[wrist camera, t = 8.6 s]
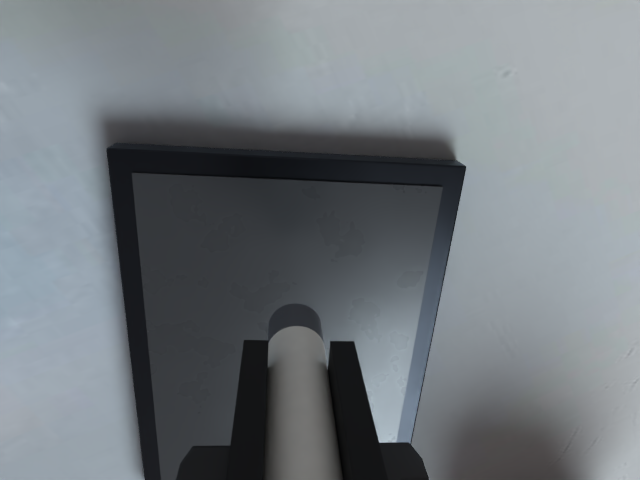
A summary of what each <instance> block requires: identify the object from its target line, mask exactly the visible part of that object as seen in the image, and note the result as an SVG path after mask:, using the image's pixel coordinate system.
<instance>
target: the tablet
mask: <svg viewBox="0 0 640 480" xmlns="http://www.w3.org/2000/svg"><path fill="white" fill-rule="evenodd" d="M107 158H108V166H109V175H110V184H111V192H112V201H113V209H114V218H115V227H116V235H117V244H118V253H119V261H120V270H121V279H122V287H123V296H124V304H125V313H126V322H127V330H128V339H129V348H130V356H131V365H132V374H133V382H134V391H135V399H136V408H137V417H138V425H139V434H140V443H141V451H142V460H143V469H144V477H145V480H176V478H177V474H178V470H179V466H180V463H181V462H182V460H183V459H184V457H185V456H186V455H187V453H188V452H189V451H190V449H191V448H192V446H227V445H230V444H231V436H232V428H233V421H234V413H235V405H236V397H237V390H238V382H239V374H240V366H241V359H242V351H243V343H244V340H268V324H269V320H270V318H271V316H272V314H273V313H274V312H275V311H276V310H277V309H279V308H280V307H282V306H284V305H287V304H293V303H298V304H303V305H306V306H309V307H310V308H312V309H313V310H314V311H315V312H316V313H317V314H318V316H319V318H320V321H321V327H322V334H323V341H324V348H325V355H326V362H327V369H328V361H329V350H330V341H354V343H355V347H356V351H357V355H358V359H359V363H360V367H361V371H362V375H363V379H364V383H365V387H366V392H367V396H368V400H369V404H370V408H371V412H372V416H373V420H374V424H375V428H376V432H377V436H378V440H379V443H387V442H409V443H410V444H411V441H412V436H413V431H414V426H415V421H416V416H417V411H418V406H419V401H420V396H421V391H422V386H423V381H424V376H425V371H426V366H427V361H428V356H429V351H430V346H431V341H432V336H433V331H434V326H435V321H436V316H437V311H438V306H439V301H440V296H441V291H442V286H443V281H444V276H445V271H446V266H447V261H448V256H449V251H450V246H451V241H452V236H453V231H454V226H455V221H456V216H457V211H458V206H459V201H460V196H461V191H462V186H463V181H464V176H465V171H466V166H465V165H463V164H462V163H460V162H458V161H457V160H438V159H418V158H399V157H379V156H360V155H340V154H321V153H301V152H282V151H262V150H243V149H224V148H204V147H185V146H165V145H146V144H126V143H115V144H113V145H112V146H110V147H108V148H107Z"/></svg>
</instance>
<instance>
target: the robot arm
mask: <svg viewBox="0 0 640 480" xmlns="http://www.w3.org/2000/svg"><path fill="white" fill-rule="evenodd" d="M268 343H269V340H244V343H243V351H242V359H241V366H240V374H239V382H238V390H237V397H236V405H235V413H234V421H233V428H232V436H231V444H230V445H227V446H192V448H191V449H190V451H189V452H188V453H187V455H186V456H185V457H184V459H183V460H182V462H181V463H180V466H179V470H178V474H177V478H176V480H263V467H264V444H265V421H266V398H267V374H268ZM328 376H329V383H330V390H331V397H332V404H333V411H334V418H335V425H336V432H337V439H338V446H339V453H340V460H341V467H342V474H343V480H429V477H428V475H427V472H426V469H425V466H424V463H423V460H422V458H421V457H420V455H419V454H418V453H417V452H416V451H415V449H414V448H413V447H412V446H411V444H410V443H409V442H387V443H379V440H378V436H377V432H376V428H375V424H374V420H373V416H372V412H371V408H370V404H369V400H368V396H367V392H366V387H365V383H364V379H363V375H362V371H361V367H360V363H359V359H358V355H357V351H356V347H355V343H354V341H330V350H329V361H328Z"/></svg>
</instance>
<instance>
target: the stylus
mask: <svg viewBox="0 0 640 480" xmlns="http://www.w3.org/2000/svg"><path fill="white" fill-rule="evenodd" d="M268 340H269V343H268V374H267V398H266V421H265V444H264V467H263V480H343V474H342V467H341V460H340V453H339V446H338V439H337V432H336V425H335V418H334V411H333V404H332V397H331V390H330V383H329V376H328V369H327V362H326V355H325V348H324V341H323V334H322V327H321V321H320V318H319V316H318V314H317V313H316V312H315V311H314V310H313V309H312V308H310V307H309V306H306V305H303V304H298V303H293V304H287V305H284V306H282V307H280V308H279V309H277V310H276V311H275V312H274V313H273V314H272V316H271V318H270V320H269V324H268Z"/></svg>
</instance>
